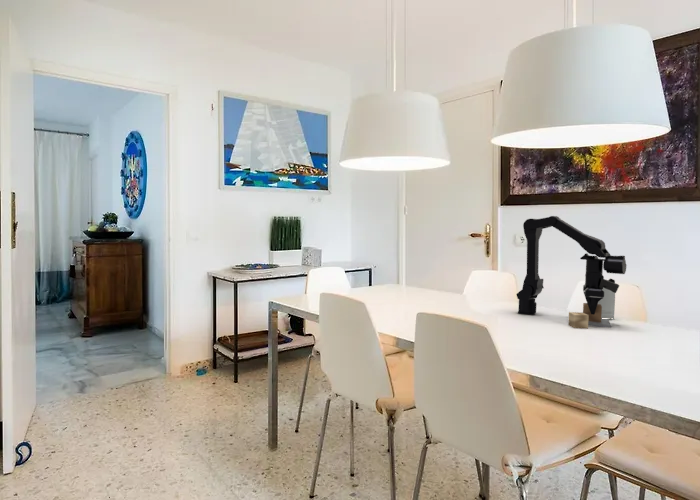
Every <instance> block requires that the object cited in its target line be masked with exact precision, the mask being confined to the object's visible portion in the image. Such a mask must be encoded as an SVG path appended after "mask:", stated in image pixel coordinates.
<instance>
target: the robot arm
mask: <svg viewBox="0 0 700 500" xmlns="http://www.w3.org/2000/svg"><path fill="white" fill-rule="evenodd" d="M522 227H523V232H524V233H523V234H524V236H525V238H526V274H525V277H524V279H523V282H522V283H523V284H522V289H520V291H518V292H517V293H516V298H517V299H518V311H517V314H521V315H535V314H536V313H537V305H538V304H537V302H536V299H537V298H538V296H539V295H540V294H541V293H542V291H543V289H545V288H544V278H540V275H539V254H540V253H539V251H540V250H539V249H540V248H539V245H540V239H541V237H542V233H543V229H544V230H545V229H548V228H551V227H553V228H555V229H556V230H557V231H559V232H561V233H562V234H563V235H566V236H567V237H569V238H571V239H572V240H574V241H575V242H576V243H578V245H579V246H580V247H581V248H582V249H583V250H584V251H585V253H584V255H582V256H581V257H580V260H585V261H586V262H585V275H584V277H585V280H584V281H585V282H584V284H583V285H582V287H583V288H582V291H583V296H584V298H585V300H586V303H587V304H588V307H589V309H590V312H591V314H593V315H594V314H595V311H596V308H597V304H598V302H599V301H600V300H601V299H603V297H604V291H603V290H602V289H603V288H605V289H608V290H610V291H612V292H614V293H615V294H617V292H618V289H619V287H620V285H619V283H616V280H615V279H613V278H609V279H608V280H607V279H605V277H604V275H603V272H606V273H607V274H615V275H616V274H617V275H625V274H626V272H627V262H626V256H625V255H611V254H610V251H608V249H607V248H606V243H605V242H604V241H603V240H602V239H599V238H597V237H594V236H592V235H589V234H586V233H584V232H583V231H581V230H579V229H577V228H576V227H574V226H572V225H571V224H570V223H568V222H566V221H564V220H563V219H561V218H560V216H557V215H550V216H548V217H542V218H527V219H526V220H525V221H524V222H523V224H522ZM603 270H604V271H603Z"/></svg>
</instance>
